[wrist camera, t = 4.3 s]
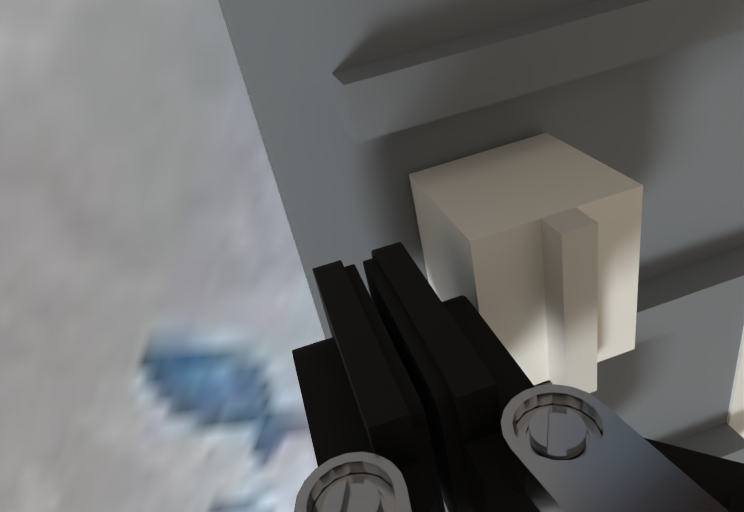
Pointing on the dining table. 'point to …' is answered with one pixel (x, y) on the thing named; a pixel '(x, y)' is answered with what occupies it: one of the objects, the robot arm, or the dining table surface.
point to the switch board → (521, 121)
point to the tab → (537, 252)
